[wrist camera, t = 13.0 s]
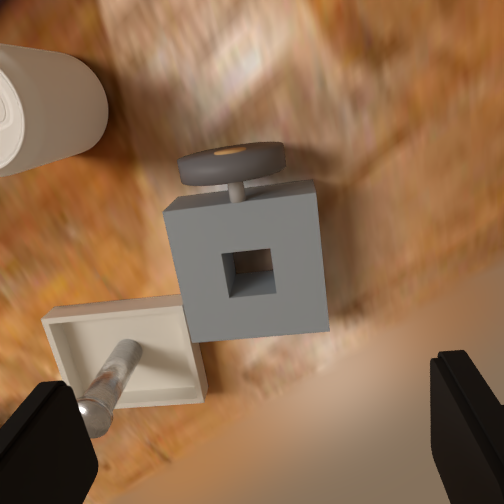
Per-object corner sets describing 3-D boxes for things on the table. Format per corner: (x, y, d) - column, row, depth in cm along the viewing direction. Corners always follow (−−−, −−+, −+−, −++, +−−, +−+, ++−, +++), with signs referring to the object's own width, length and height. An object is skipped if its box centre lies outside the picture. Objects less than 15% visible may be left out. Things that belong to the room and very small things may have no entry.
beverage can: (129, 126, 37) (60, 143, 26) (56, 169, 39) (-39, 203, 28) (74, 32, 35) (-29, 7, 23) (-1, 83, 36) (-130, 82, 25)
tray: (187, 293, 42) (181, 305, 40) (208, 386, 46) (204, 402, 43) (54, 306, 44) (40, 319, 41) (84, 395, 48) (73, 411, 45)
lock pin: (141, 333, 43) (102, 400, 34) (150, 364, 45) (114, 436, 35) (107, 337, 44) (59, 404, 34) (117, 367, 45) (73, 439, 36)
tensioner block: (308, 132, 36) (313, 145, 28) (325, 303, 41) (333, 355, 33) (168, 152, 37) (135, 170, 29) (202, 315, 43) (182, 367, 35)
